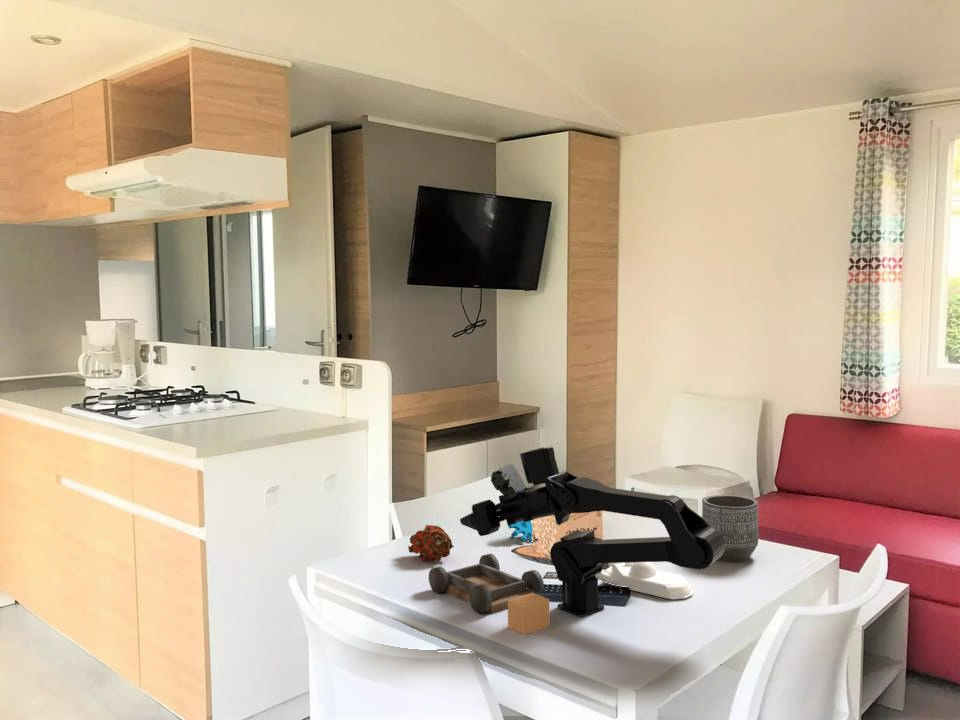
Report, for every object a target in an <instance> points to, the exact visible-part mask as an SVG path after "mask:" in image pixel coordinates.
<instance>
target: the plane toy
mask: <svg viewBox="0 0 960 720" xmlns="http://www.w3.org/2000/svg"><path fill="white" fill-rule="evenodd" d="M607 564H608V567H607V568H606V569H605V571H603V570H602V572H601V573H598V574H596V575H595V576H596V578H598V579H599V580H598V581H600V580H602V581H601V582H603V581H604V582H607V583H611V584H614V585H619V586H627V587H630V588H631V590H630V591H635V592H639V593H643V594H646V595H651V596H655V597H659V598H664V599H668V600H679V599H680V600H682V599H687V598H690V597H692V596H693V594H694V592H695V591H694V590H693V588H692V586H691V584H690V583H689V582H688V581H687V580H686V578H684V576H682V575H681V574H676V573H671V572H666V571H663V570H662V571H661V570H657V568H656V566H655V565H654V562H630V563H607ZM604 582H603V583H604Z"/></svg>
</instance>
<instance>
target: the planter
mask: <svg viewBox="0 0 960 720" xmlns="http://www.w3.org/2000/svg"><path fill="white" fill-rule="evenodd" d="M701 501H702V504H701V506H702V507H701V508H702V510H701V513H702V516H701V517H702V518H703V519H704V520H705V521H706V522H707V523H708V524H709V525H710V527H711V528H714V529H716V530H717V531H718V532H719V533H720V534H721V535H722V537H723V539H724V541H725V551H724V553H723V555H722V556H721V557H720V558H718V559H717V560H718V561H723V562H730V563H732V562H733V563H739V562H745V561H747V560H749V559H750V557H751V556H752V554H753V553H754V552H755V550H756V548H757V546H758V544H759V501H758V500H757V499H754V498H751V497H748V496H744V495H735V494H714V495H713V494H712V495H707V496H705V497H703V498H702V500H701Z"/></svg>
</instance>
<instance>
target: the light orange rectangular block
mask: <svg viewBox="0 0 960 720" xmlns="http://www.w3.org/2000/svg"><path fill="white" fill-rule="evenodd" d="M550 618H551V617H550V599H549V598H547V597H544V596H543V595H538V594H535V593H530V594H526V595H523V596H520V597H516V598H513V599H510V600H508V609H507V626H508V628H510V629H511V630H513V631H516V632H518V633H520V634H523V635H526V634H530V633H533V632H535V631H539V630H542V629H544V628H548V627H550V625H551V624H550Z"/></svg>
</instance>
